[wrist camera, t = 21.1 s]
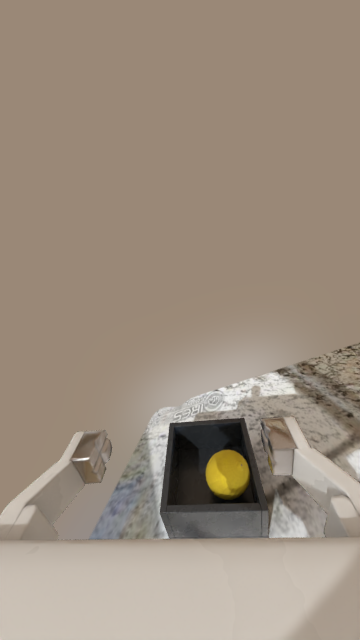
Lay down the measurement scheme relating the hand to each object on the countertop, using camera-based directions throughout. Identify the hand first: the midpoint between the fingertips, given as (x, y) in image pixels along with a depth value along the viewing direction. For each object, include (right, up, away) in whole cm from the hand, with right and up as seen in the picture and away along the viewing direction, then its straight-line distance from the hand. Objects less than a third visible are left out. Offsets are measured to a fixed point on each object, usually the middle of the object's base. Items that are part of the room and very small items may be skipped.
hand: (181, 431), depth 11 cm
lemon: (+5, -19, +21) cm, 29 cm away
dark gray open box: (+5, -20, +22) cm, 30 cm away
